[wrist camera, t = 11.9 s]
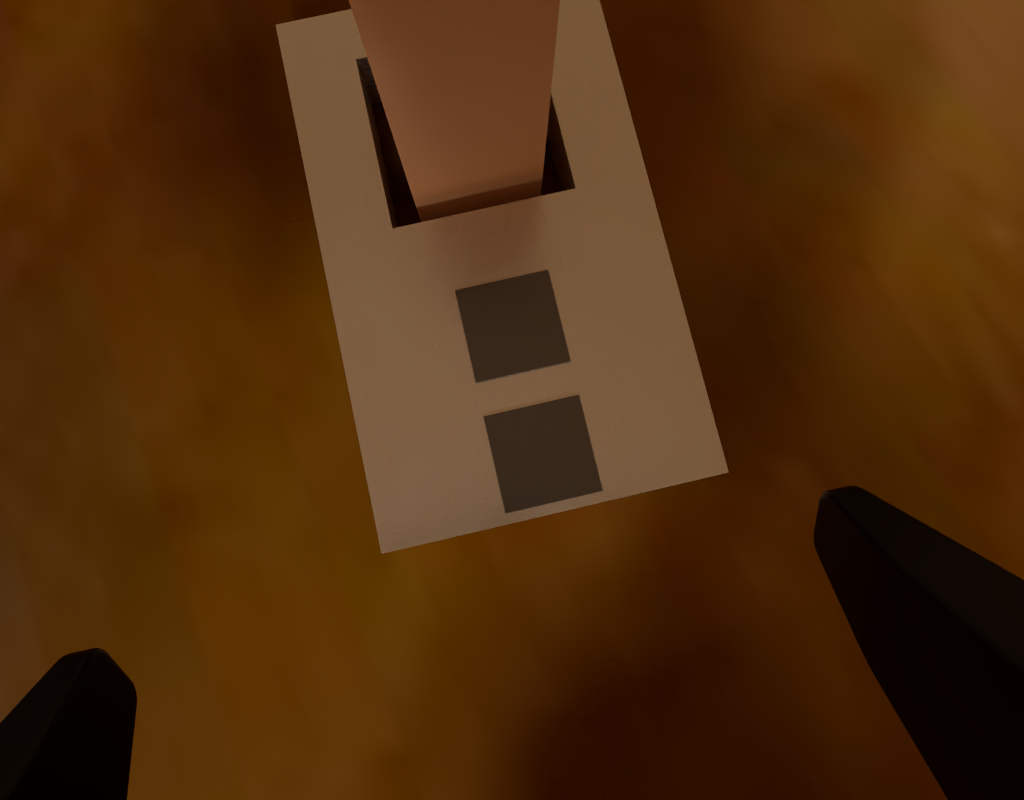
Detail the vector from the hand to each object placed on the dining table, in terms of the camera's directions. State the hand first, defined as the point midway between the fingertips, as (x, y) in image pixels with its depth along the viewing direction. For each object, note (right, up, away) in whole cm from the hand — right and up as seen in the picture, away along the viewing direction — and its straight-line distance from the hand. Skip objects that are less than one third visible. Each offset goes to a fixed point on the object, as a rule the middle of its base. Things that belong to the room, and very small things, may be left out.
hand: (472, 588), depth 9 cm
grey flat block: (0, +7, +14) cm, 16 cm away
